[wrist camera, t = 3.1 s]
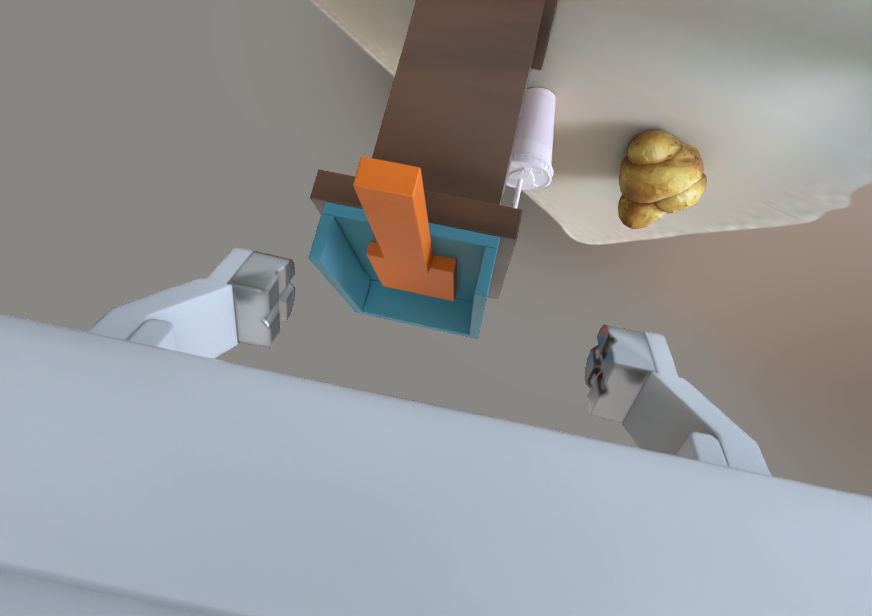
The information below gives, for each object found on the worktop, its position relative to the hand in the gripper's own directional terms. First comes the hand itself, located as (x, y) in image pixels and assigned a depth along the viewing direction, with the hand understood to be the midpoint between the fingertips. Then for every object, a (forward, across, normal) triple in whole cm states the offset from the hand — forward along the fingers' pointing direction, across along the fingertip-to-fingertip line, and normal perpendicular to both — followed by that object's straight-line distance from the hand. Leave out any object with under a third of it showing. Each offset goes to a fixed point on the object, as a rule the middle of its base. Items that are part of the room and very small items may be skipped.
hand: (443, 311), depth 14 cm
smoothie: (+51, -6, +7) cm, 52 cm away
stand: (+42, +2, -4) cm, 42 cm away
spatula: (+18, +3, +9) cm, 20 cm away
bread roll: (+54, -22, +11) cm, 59 cm away
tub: (+22, +3, +13) cm, 26 cm away
